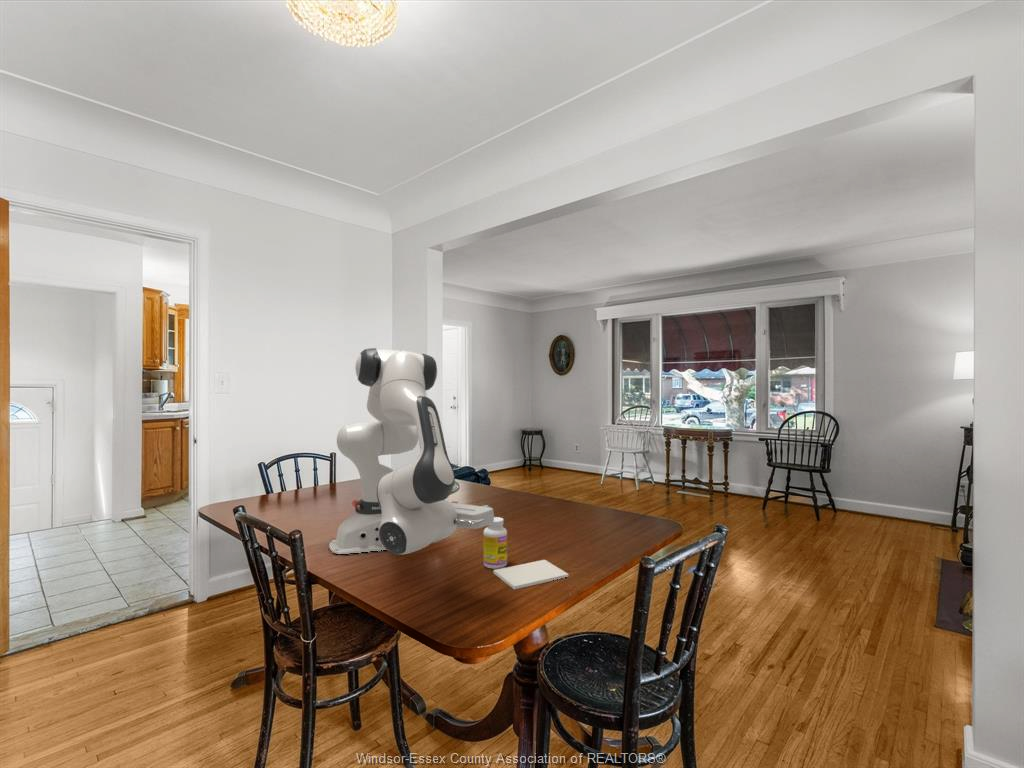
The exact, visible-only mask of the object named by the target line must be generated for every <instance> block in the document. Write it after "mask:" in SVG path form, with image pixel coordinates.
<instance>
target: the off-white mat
mask: <svg viewBox="0 0 1024 768" xmlns="http://www.w3.org/2000/svg"><path fill="white" fill-rule="evenodd" d="M492 570H493V574H494V575H495V576H497V577H498V578H499V579H500V580H501V581H503V582H504V583H506V584H507V586H509V587H511V588H512V589H513V590H519V589H523V588H527V587H532V586H535V585H540V584H545V583H549V582H554V581H557V579H558V580H562V579H565V577H567V578H569V575H570V574H569V573H567V572H566V571H564V570H563V569H561V568H559V567H558V566H556V565H555V564H553V563H551V562H549V561H548V560H546V559H541V560H536V561H532V562H531V561H530V562H527V563H521V564H518V565H512V566H507V567H506V566H505V567H503V568H499V569H492ZM561 578H562V579H561ZM553 580H554V581H553Z"/></svg>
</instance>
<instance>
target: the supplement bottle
mask: <svg viewBox="0 0 1024 768" xmlns="http://www.w3.org/2000/svg"><path fill="white" fill-rule="evenodd" d="M504 521H505V520H504V518H503V517H500V516H494V521H493V523H492V524H490V525H487V527H485V528H484V530H483V533H482V534H483V535H482V537H483V545H482V546H483V565H484V567H485V568H487V569H492V570H497V569H501V568H506V566H507V565H508V530H507V529H506V528H505V527H504V526H503V525H504Z"/></svg>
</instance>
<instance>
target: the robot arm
mask: <svg viewBox="0 0 1024 768" xmlns="http://www.w3.org/2000/svg"><path fill="white" fill-rule="evenodd" d="M354 369H355V375H356V376H357V381H358V383H360V384H361V385H363V386H366V387H369V390H368V396H367V401H366V408H367V411H368V413H369V414H370V416H372V418H374V419H375V420H377V421H361V422H358V421H357V422H354V423H349V424H347V425H343V426H342V427H341V428H340V430H339V431H338V433H337V436H336V445H337V446H336V447H337V448H338V450H339V452H340V453H341V454H342V455H343V456H344V457H346V458H347V459H349V460H350V461H351V462H352V463H353V464H354V465H355V467H356V469H357V472H358V473H359V477H360V487H361V499H359V500H357V499H353V500H352V501H351V505H352V506H353V507H354V509H355V512H354V513H352V514H351V515H350V516H349V517H348V518H347V519H346V520H344V521H343V522H342V523H340V525H339V526H338V529H337V532H336V533H337V534H336V539H332V541H330V542H329V545H328V549H329V548H330V550H331V551H332V552H334V553H337V554H349V553H359V554H362V553H361V552H368V553H371V552H370V551H378V552H384V551H383V550H387V552H389V553H391V554H394V555H399V556H400V555H408V554H411V553H412V554H413V553H414V552H418V551H420V550H422V549H424V548H426V547H428V546H429V545H430V544H432V543H437V542H439V541H441V540H444V539H445V538H448V537H450V536H452V535H453V534H454V533H455V531H457V528H465V529H470V530H471V529H472V530H474V529H475V530H476V529H482V528H484V527H486V526H487V527H488V525H490V524H492V523H493V521H494V517H495V513H494V512H495V510H494V508H493V507H491V506H490V505H487V504H481V505H473V504H465V503H459V502H458V501H454V500H452V501H449V500H446V499H448V498H449V497H450V495H451V494H452V493H453V492H452V491H453V489H454V486H455V480H456V476H455V471H454V469H453V468H454V467H453V466H452V464H451V461H450V459H449V455H448V452H447V447H446V442H445V439H444V437H445V436H444V432H443V427H442V424H441V420H440V415H439V412H438V410H437V407H436V404H435V403H434V401H433V400H432V399H430V398H429V397H428V396H427V394H426V391H429V390H430V389H431V388H433V387H434V385H435V382H436V380H437V377H438V367H437V362H436V359H435V358H434V357H433V356H431V355H429V354H425V353H422V354H421V353H418V352H413V351H409V350H404V349H403V350H402V349H400V350H399V349H398V350H397V349H377V348H365V349H363V350H362V351H361V352H360V353H359V356H358V357H357V360H356V362H355V368H354ZM417 444H418V445H419V449H420V452H419V455H418V456H417V457H416V459H415V460H414V461H413V462H411V463H408V464H406V465H404V466H402V467H398V468H396V469H395V470H394V469H393V468H391V467H389V466H386V465H385V464H382V463H380V460H379V457H380V456H389V455H398V454H403V453H407V452H410V451H413V450H414V449H415V448H416V446H417ZM330 550H329V551H330ZM381 550H382V551H381ZM331 551H330V552H331ZM332 552H331V553H332ZM349 555H350V554H349Z"/></svg>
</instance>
